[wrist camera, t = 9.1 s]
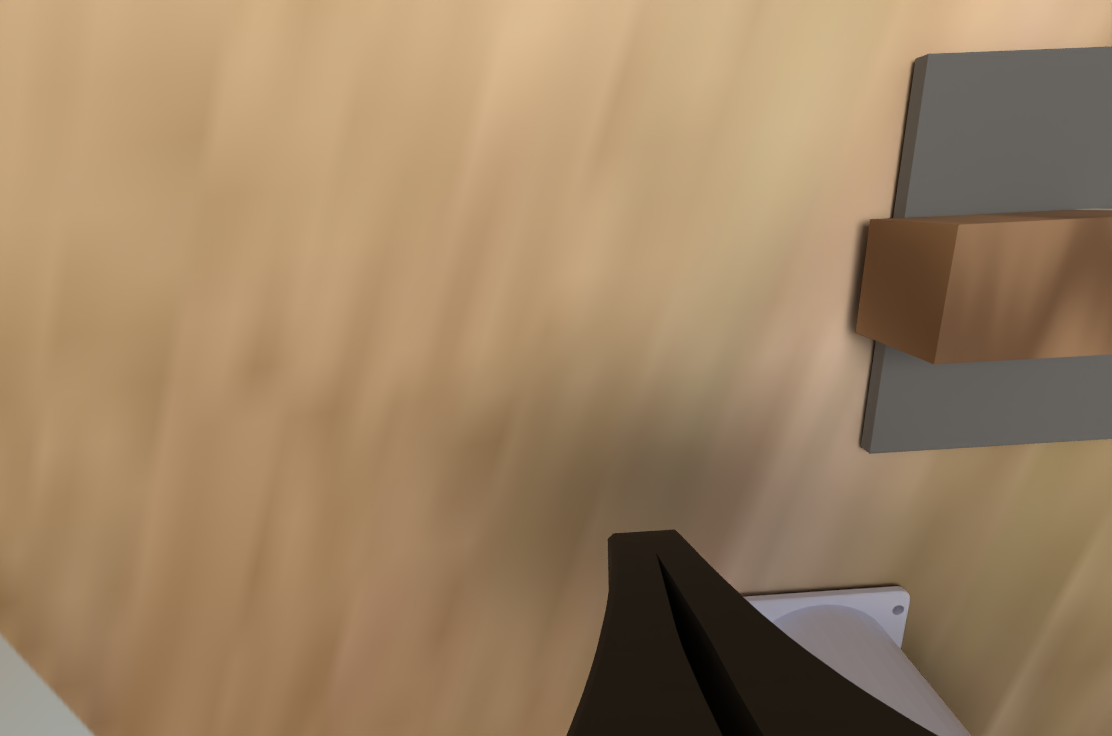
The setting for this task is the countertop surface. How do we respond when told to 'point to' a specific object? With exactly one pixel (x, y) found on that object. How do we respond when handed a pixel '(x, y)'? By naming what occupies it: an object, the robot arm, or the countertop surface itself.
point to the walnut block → (990, 285)
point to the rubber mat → (985, 188)
